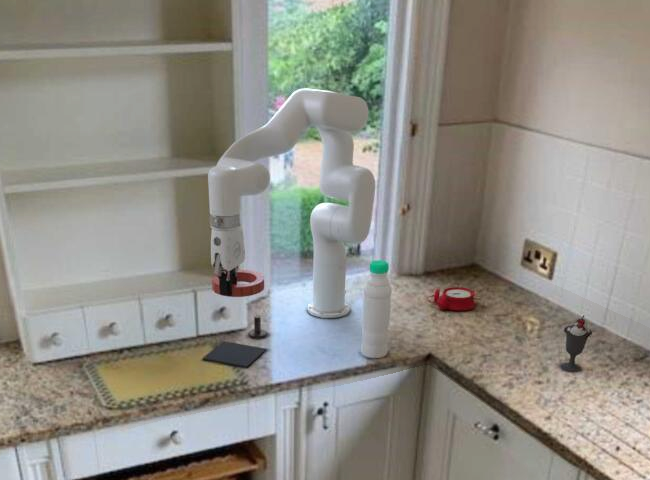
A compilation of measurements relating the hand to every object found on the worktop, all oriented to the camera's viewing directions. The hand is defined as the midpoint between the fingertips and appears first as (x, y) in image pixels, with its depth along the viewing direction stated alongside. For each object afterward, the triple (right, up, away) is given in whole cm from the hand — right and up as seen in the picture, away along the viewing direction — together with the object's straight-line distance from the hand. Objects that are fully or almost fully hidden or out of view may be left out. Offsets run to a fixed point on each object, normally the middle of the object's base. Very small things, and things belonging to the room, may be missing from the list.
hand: (228, 292), depth 202 cm
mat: (+1, -15, +11) cm, 18 cm away
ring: (+2, +2, +5) cm, 6 cm away
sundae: (+87, -19, +2) cm, 90 cm away
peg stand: (+7, -8, +22) cm, 25 cm away
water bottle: (+38, -14, +11) cm, 42 cm away
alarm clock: (+65, +4, +39) cm, 76 cm away
